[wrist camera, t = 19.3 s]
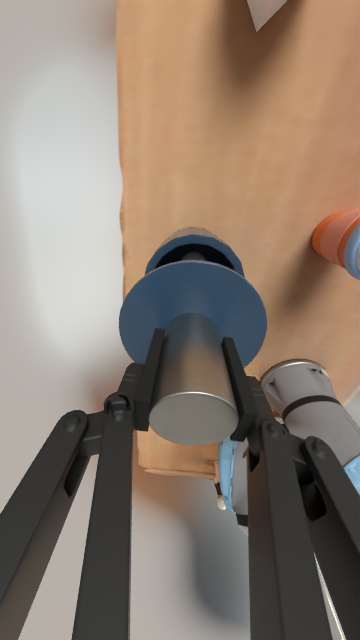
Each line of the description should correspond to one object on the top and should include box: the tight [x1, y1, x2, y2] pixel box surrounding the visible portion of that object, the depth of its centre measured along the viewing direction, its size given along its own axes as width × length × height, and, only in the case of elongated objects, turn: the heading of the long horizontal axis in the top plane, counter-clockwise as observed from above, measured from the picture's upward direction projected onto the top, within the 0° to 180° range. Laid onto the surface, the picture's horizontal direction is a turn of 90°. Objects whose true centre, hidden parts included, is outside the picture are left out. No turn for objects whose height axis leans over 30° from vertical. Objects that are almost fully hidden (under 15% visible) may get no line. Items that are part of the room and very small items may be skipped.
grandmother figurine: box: [213, 461, 226, 510], centre depth 64 cm, size 8×4×13 cm, turn 37°
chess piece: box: [181, 252, 206, 261], centre depth 29 cm, size 5×5×10 cm
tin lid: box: [119, 260, 267, 446], centre depth 14 cm, size 13×13×9 cm
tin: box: [145, 227, 245, 278], centre depth 28 cm, size 12×12×12 cm
